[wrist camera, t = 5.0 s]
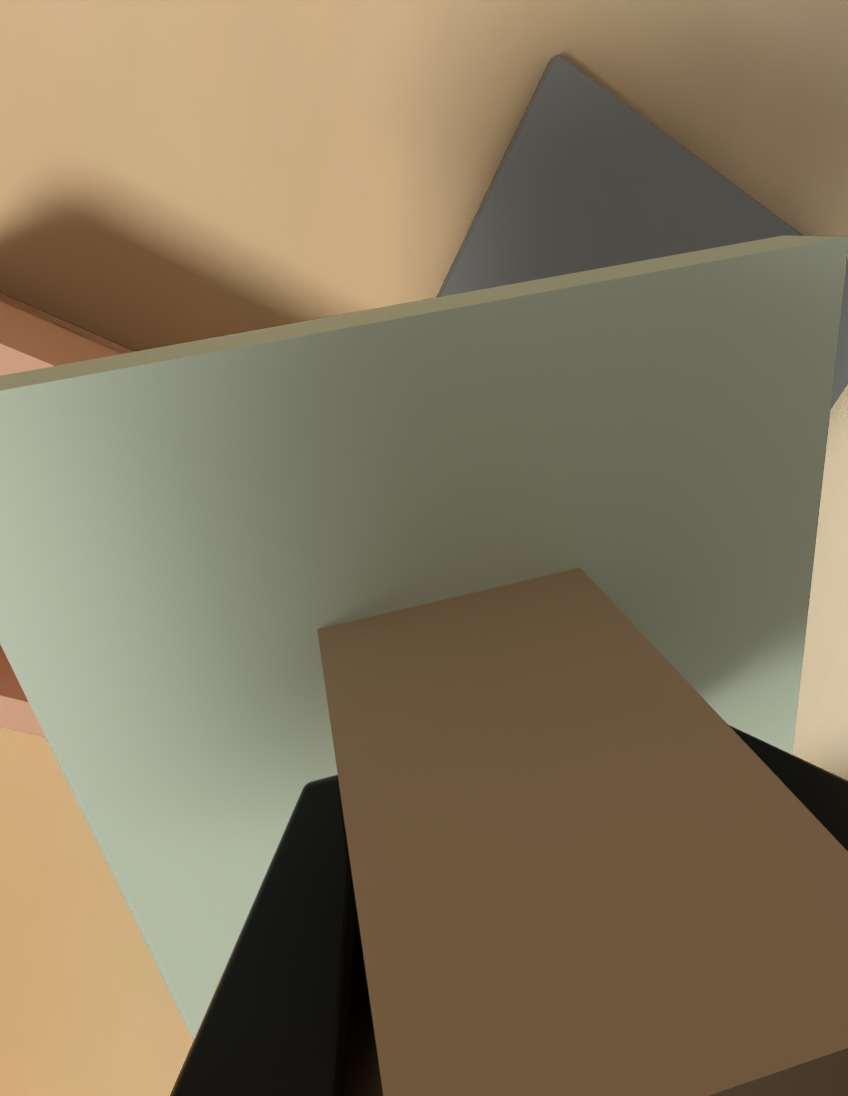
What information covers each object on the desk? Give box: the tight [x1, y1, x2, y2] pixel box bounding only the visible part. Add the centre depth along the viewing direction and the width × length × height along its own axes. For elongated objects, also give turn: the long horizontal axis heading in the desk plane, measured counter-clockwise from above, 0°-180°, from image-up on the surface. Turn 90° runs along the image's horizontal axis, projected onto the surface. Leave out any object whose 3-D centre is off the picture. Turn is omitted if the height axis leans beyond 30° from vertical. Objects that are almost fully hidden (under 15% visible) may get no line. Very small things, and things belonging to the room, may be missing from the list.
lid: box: [0, 235, 848, 1096], centre depth 7 cm, size 9×9×6 cm
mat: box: [437, 55, 848, 410], centre depth 20 cm, size 12×12×1 cm
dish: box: [0, 293, 134, 738], centre depth 16 cm, size 8×8×4 cm
